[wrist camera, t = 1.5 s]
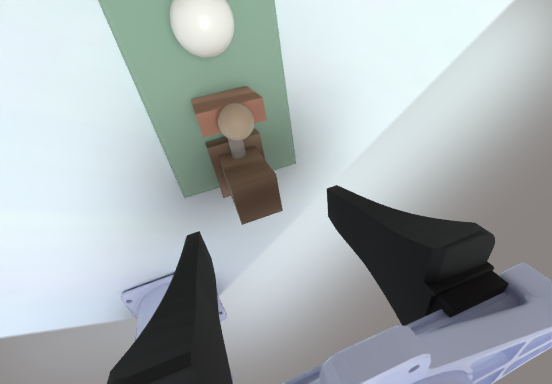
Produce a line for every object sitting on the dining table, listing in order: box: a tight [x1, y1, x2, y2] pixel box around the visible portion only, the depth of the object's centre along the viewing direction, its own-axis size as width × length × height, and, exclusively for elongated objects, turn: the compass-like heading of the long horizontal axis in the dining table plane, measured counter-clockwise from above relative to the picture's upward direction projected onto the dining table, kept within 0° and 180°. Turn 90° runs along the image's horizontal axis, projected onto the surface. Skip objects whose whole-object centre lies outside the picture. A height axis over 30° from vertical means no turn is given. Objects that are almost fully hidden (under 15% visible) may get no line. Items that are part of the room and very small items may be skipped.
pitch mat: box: [98, 0, 296, 198], centre depth 18 cm, size 19×10×1 cm, turn 10°
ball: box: [170, 0, 234, 58], centre depth 15 cm, size 4×4×4 cm
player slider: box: [191, 86, 283, 225], centre depth 18 cm, size 8×4×6 cm, turn 10°
